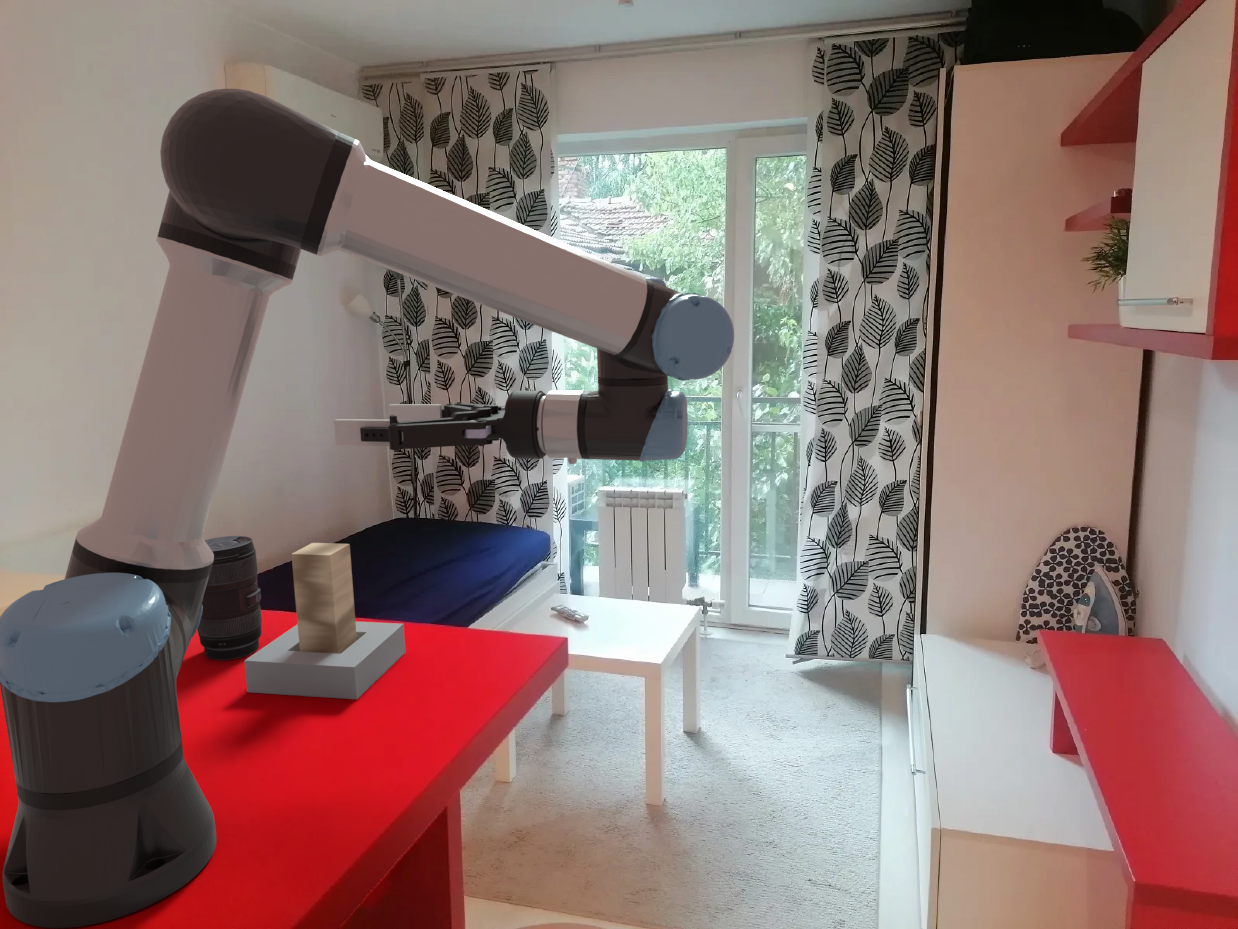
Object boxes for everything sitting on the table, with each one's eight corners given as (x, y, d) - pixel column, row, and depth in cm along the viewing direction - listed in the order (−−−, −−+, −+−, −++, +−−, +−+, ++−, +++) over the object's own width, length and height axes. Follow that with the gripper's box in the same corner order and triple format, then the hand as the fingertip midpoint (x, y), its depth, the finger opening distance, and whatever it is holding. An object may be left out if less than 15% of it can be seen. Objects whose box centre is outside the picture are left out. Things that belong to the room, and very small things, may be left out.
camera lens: (246, 634, 123) (236, 531, 121) (276, 648, 118) (266, 541, 115) (188, 652, 117) (176, 544, 115) (216, 667, 112) (204, 554, 109)
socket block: (405, 652, 116) (403, 623, 115) (356, 699, 102) (354, 667, 102) (307, 647, 118) (305, 619, 118) (247, 692, 105) (244, 660, 104)
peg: (358, 664, 112) (349, 543, 109) (339, 681, 108) (330, 555, 105) (322, 662, 113) (312, 542, 110) (302, 678, 108) (291, 553, 105)
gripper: (515, 481, 85) (312, 477, 89) (571, 440, 109) (410, 438, 113) (512, 404, 84) (306, 403, 87) (570, 380, 108) (407, 380, 111)
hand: (364, 423), depth 100 cm, fingers open, 13 cm apart
